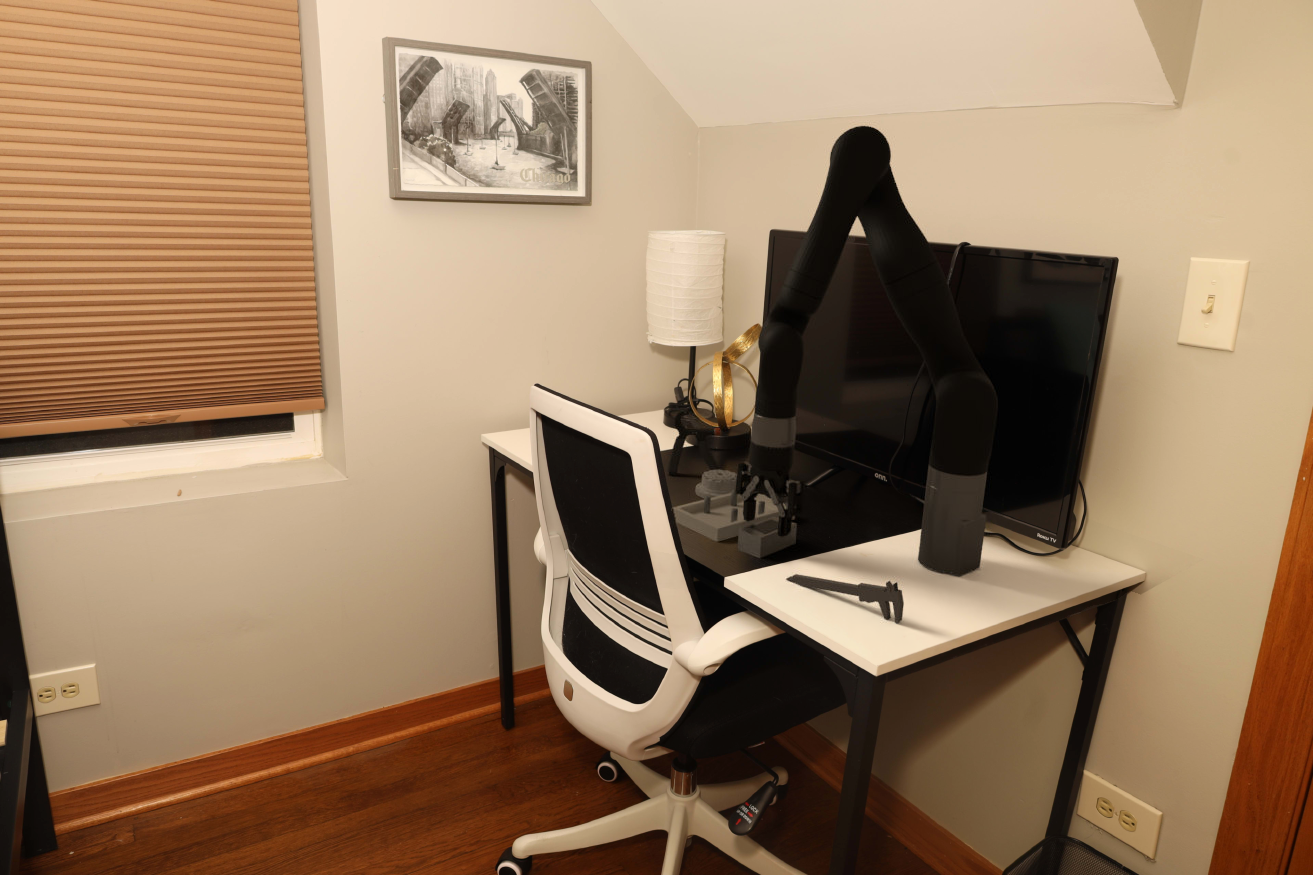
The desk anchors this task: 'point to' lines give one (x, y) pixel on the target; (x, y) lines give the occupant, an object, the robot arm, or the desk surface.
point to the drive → (764, 538)
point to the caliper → (860, 592)
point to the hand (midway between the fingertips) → (765, 527)
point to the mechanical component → (716, 483)
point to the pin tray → (723, 515)
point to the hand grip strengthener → (701, 441)
